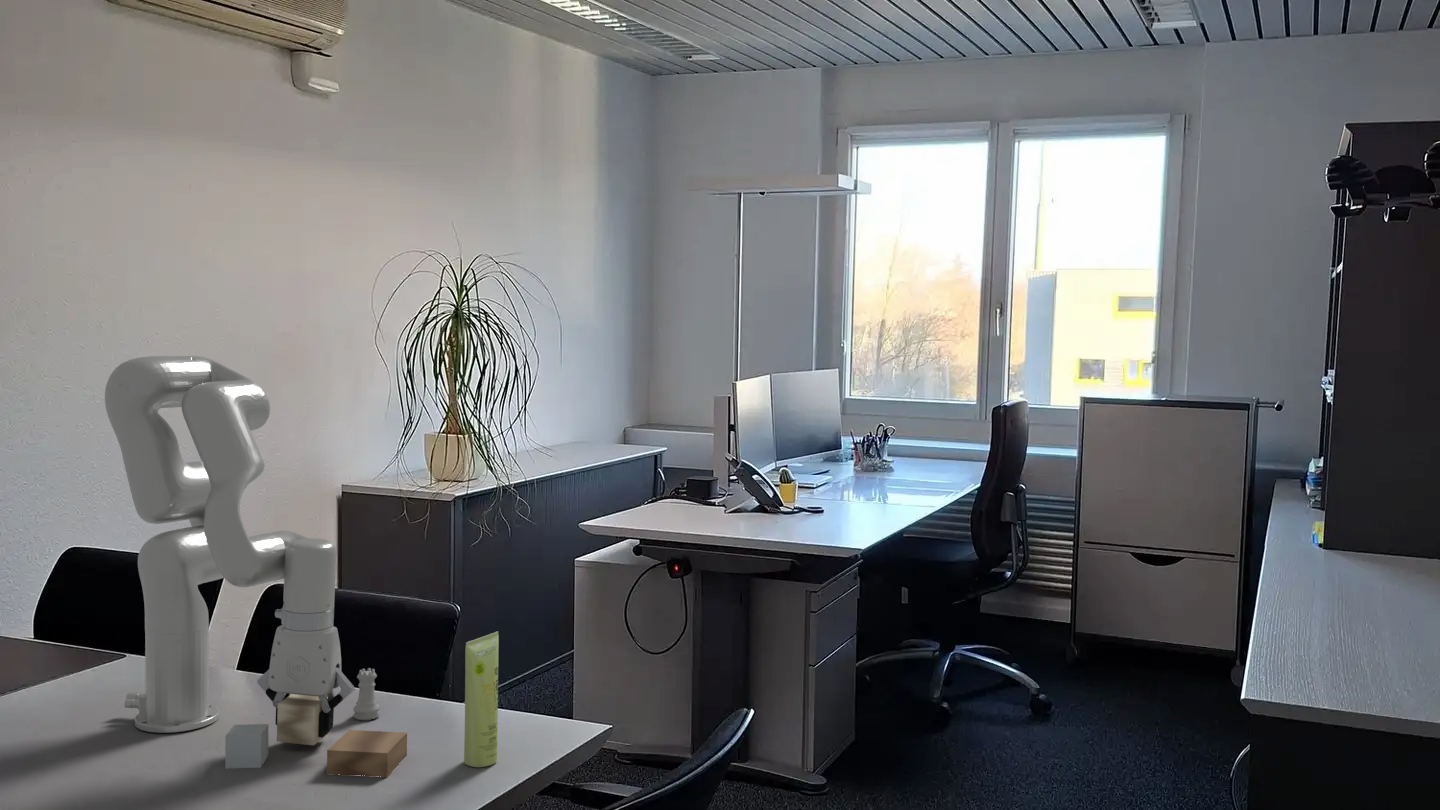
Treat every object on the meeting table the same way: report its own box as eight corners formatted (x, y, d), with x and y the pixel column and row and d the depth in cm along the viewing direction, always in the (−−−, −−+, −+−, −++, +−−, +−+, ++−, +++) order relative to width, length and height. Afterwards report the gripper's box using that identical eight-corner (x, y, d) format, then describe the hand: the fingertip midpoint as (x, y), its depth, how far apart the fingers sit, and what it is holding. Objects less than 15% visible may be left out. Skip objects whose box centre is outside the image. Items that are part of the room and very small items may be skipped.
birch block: (276, 741, 185) (277, 703, 185) (294, 728, 191) (295, 691, 191) (313, 745, 185) (315, 707, 184) (330, 732, 191) (332, 695, 190)
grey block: (225, 769, 178) (225, 735, 177) (233, 757, 182) (234, 724, 182) (260, 768, 178) (260, 735, 178) (268, 756, 183) (268, 724, 183)
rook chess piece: (372, 722, 200) (372, 675, 199) (347, 720, 200) (348, 672, 200) (385, 714, 204) (385, 667, 203) (360, 711, 205) (361, 665, 204)
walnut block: (326, 776, 176) (327, 750, 176) (349, 755, 185) (349, 729, 185) (387, 779, 176) (387, 753, 175) (406, 758, 185) (407, 732, 184)
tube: (498, 768, 180) (500, 640, 179) (463, 770, 179) (465, 641, 178) (496, 755, 186) (498, 631, 185) (463, 757, 185) (464, 632, 184)
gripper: (243, 620, 184) (239, 734, 185) (351, 630, 182) (346, 746, 183) (267, 608, 191) (263, 719, 193) (371, 618, 189) (366, 729, 191)
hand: (304, 731), depth 188 cm, fingers closed on birch block, 6 cm apart
